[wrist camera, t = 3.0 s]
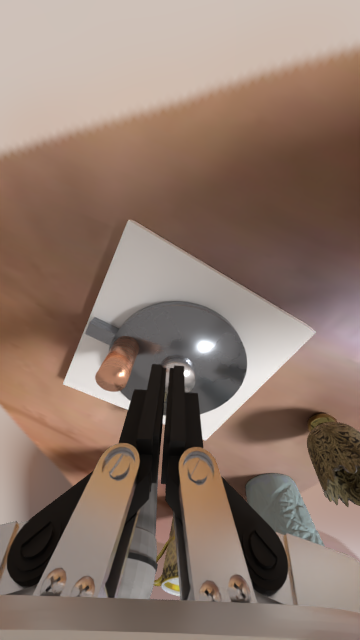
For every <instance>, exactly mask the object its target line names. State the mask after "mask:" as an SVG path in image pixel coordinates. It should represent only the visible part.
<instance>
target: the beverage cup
mask: <svg viewBox="0 0 360 640" xmlns="http://www.w3.org/2000/svg"><path fill="white" fill-rule="evenodd" d="M157 486H158V476H157V483H152V487H151V492H150V495H149V500H148V501H147V502H146V503H145V504H144V505H143V506H142V507H141V508H140V512H139V516H138V519H137V523H136V527H135V531H134V535H133V538H132V542H131V546H130V550H129V554H128V557H127V561H126V565H125V569H124V573H123V576H122V580H121V584H120V588H119V592H118V595H117V598H128V599H150V596H151V593H152V589H153V584H154V578H155V574H156V571H157V563H156V557H157V546H156V538H155V534H156V510H157Z"/></svg>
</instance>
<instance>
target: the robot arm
mask: <svg viewBox="0 0 360 640" xmlns="http://www.w3.org/2000/svg"><path fill="white" fill-rule="evenodd" d="M165 383H166V368H165V367H163V365H162V364H152V367H151V372H150V377H149V381H148V386H147V390H142V389H134V391H133V395H132V398H131V402H130V405H129V409H128V412H127V416H126V419H125V423H124V426H123V430H122V433H121V437H120V440H119V444H115V445H113V446H111V447H109V448H108V449H107V450H106V451H105V452H104V453H103V455H102V456H101V458H100V459H99V461H98V463H97V465H96V467H95V469H94V471H93V472H91V473H90V474H89V475H87V476H86V477H85V478H84V479H82V480H81V481H80V482H78V483H77V484H76V485H74V486H73V487H72V488H70V489H69V490H68V491H66V492H65V493H64V494H63V495H61V496H60V497H58V498H57V499H56V500H55V501H53V502H52V503H51V504H49V505H48V506H47V507H45V508H44V509H43V510H41V511H40V512H39V513H37V514H36V515H35V516H33V517H32V518H31V519H30V520H29V521H26V522H22V523H17V521H15V522H11V523H6V524H2V525H0V640H360V563H359V562H358V561H357V560H356V559H354V558H352V557H351V556H349V555H347V554H344V553H341V552H339V551H336V550H333V549H330V548H327V547H324V546H322V545H319V544H316V543H313V542H310V541H308V540H305V539H302V538H299V537H296V536H293V535H291V534H288V533H286V534H285V535H283V534H280V533H277V532H275V531H274V530H273V529H272V527H271V526H270V525H269V524H268V523H267V522H266V521H265V520H264V519H263V518H262V517H261V516H260V515H259V514H258V513H257V512H256V511H255V510H254V509H253V508H252V507H251V506H250V505H249V504H248V503H247V502H246V501H245V500H244V499H243V498H242V497H241V496H240V495H239V494H238V493H237V492H236V491H235V490H234V489H233V488H232V487H231V486H230V485H229V484H228V483H227V482H226V481H225V480H224V479H223V478H222V477H221V474H220V471H219V467H218V464H217V462H216V459H215V458H214V456H213V455H212V454H211V453H210V452H209V451H207V450H206V449H203V440H202V429H201V419H200V409H199V398H198V393H189V392H185V378H184V366H177V365H174V368H170V370H169V383H168V395H167V407H166V420H165V432H164V445H163V460H162V475H161V484H166V492H165V493H166V497H165V500H166V502H167V503H168V504H169V506H170V507H171V508H172V510H173V518H174V530H175V542H176V554H177V565H178V577H179V589H180V600H157V599H128V598H117V595H118V592H119V588H120V584H121V580H122V576H123V573H124V569H125V565H126V561H127V557H128V554H129V550H130V546H131V542H132V538H133V535H134V531H135V527H136V523H137V519H138V516H139V512H140V508H141V507H142V506H143V505H144V504H145V503H146V502H147V501H148V500H149V495H150V492H151V487H152V483H157V476H158V466H159V455H160V445H161V434H162V424H163V413H164V400H165Z"/></svg>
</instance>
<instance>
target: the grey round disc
mask: <svg viewBox="0 0 360 640" xmlns="http://www.w3.org/2000/svg"><path fill="white" fill-rule="evenodd" d="M85 334H86V335H88V336H90V337H93V338H95V339H97V340H99V341H101V342H103V343H106V344H108V345H110V347H109V352H108V355H107V356H106V358H105V360H104V361H103V363H102V365H101V366H100V368H99V370H98V371H97V373H96V375H95V380H96V382H97V384H98V385H99V386H100V387H101V388H102V389H104V390H107V391H111V392H117V391H120V392H121V393H122V394H123V395H124V396H125V397H126V398H127V399H128V400H130V401H131V398H132V395H133V391H134V389H142V390H147V386H148V381H149V377H150V372H151V367H152V364H162V365H163V367H165V368H166V383H165V400H164V413H163V415H165V416H166V407H167V395H168V383H169V370H170V368H174V365H177V366H184V378H185V392H189V393H198V398H199V409H200V414H203V413H206V412H209V411H211V410H214V409H216V408H218V407H220V406H221V405H223V404H224V403H226V402H227V401H228V400H229V399H231V398H232V397H233V396H234V395H235V393H236V392H237V391H238V390H239V388H240V386H241V385H242V383H243V381H244V378H245V375H246V371H247V355H246V351H245V348H244V346H243V343H242V341H241V339H240V337H239V334H238V333H237V331H236V330H235V328H234V327H233V326H232V325H231V323H230V322H229V321H228V320H227V319H225V318H224V317H223V316H222V315H220V314H219V313H217V312H216V311H214V310H212V309H210V308H208V307H206V306H202V305H199V304H196V303H191V302H185V301H167V302H161V303H156V304H153V305H150V306H147V307H145V308H143V309H141V310H139V311H137V312H136V313H134V314H133V315H131V316H130V317H129V318H128V319H127V320H126V321H125V322H124V323H123V324H122V325H121V327H120V328H117V327H115V326H113V325H111V324H109V323H107V322H105V321H103V320H100V319H98V318H96V317H94V318H93V319H92V320H91V321H90V322H89V324H88V327H87V329H86V332H85Z"/></svg>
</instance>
